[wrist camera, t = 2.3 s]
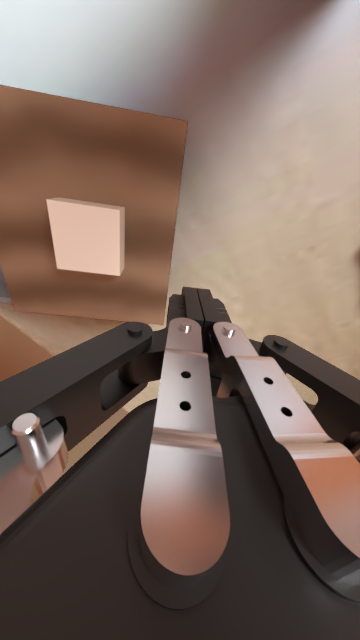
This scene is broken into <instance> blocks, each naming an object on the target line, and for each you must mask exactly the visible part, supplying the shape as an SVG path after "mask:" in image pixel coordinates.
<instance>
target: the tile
mask: <svg viewBox="0 0 360 640" xmlns="http://www.w3.org/2000/svg"><path fill="white" fill-rule="evenodd" d="M46 201H47V207H48V214H49V220H50V226H51V233H52V239H53V245H54V252H55V258H56V264H57V269H64V270H72V271H81V272H90V273H98V274H107V275H115V276H120V275H121V273H122V271H123V269H124V248H125V207H120V206H113V205H107V204H100V203H93V202H86V201H80V200H73V199H66V198H60V197H59V198H52V199H46Z"/></svg>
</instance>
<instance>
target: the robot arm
mask: <svg viewBox="0 0 360 640" xmlns="http://www.w3.org/2000/svg"><path fill="white" fill-rule="evenodd" d="M166 326H167V327H166V328H164V329H162V330H159V331H152V329H151V327H150V326H148V325H147V324H145V323H141V322H127V323H124V324H122V325H120V326H117V327H115V328H113V329H111V330H109V331H107V332H105V333H103V334H101V335H98V336H96V337H94V338H92V339H90V340H88V341H86V342H84V343H82V344H79V345H77V346H75V347H73V348H71V349H69V350H67V351H65V352H63V353H60V354H58V355H56V356H54V357H52V358H50V359H48V360H46V361H44V362H42V363H39V364H37V365H35V366H33V367H31V368H29V369H27V370H25V371H23V372H21V373H19V374H16V375H14V376H12V377H10V378H8V379H6V380H4V381H2V382H0V640H360V380H358V379H356V378H355V377H353V376H351V375H349V374H348V373H346V372H344V371H342V370H340V369H339V368H337V367H335V366H333V365H332V364H330V363H328V362H326V361H325V360H323V359H321V358H319V357H317V356H316V355H314V354H312V353H310V352H309V351H307V350H305V349H303V348H301V347H300V346H298V345H296V344H294V343H293V342H291V341H289V340H287V339H285V338H283V337H280V336H276V335H268V336H266V337H264V339H263V342H262V343H261V342H257V341H254V340H251V339H248V338H247V336H246V334H245V333H244V331H243V330H242V329H241V328H240V327H239V326H237V325H235V324H233V323H232V322H231V320H230V318H229V315H228V313H227V311H226V309H225V306H224V304H223V303H222V302H221V301H220V300H218V299H214V298H213V297H212V294H211V292H210V290H208V289H200V288H197V289H196V288H191V287H183V289H182V295H177V294H173V295H172V296H171V297H170V298H169V306H168V314H167V325H166ZM286 373H288V374H290V375H291V376H293V377H294V378H296V379H297V380H299V381H300V382H302V383H303V384H305V385H306V386H308V387H309V388H311V389H312V390H313V391H314V392H315V393H316V394H317V396H318V403H317V404H316V405H311V404H309V403H307V402H306V401H304V400H303V399H302V398H301V397H300V395H299V394H298V392H297V391H296V390H295V388H294V387H293V385H292V384H291V382H290V381H289V379H288V378H287V377H286ZM160 379H161V380H160ZM155 380H160V386H159V393H158V398H156V399H153V400H150V401H147V402H145V403H143V404H141V405H139V406H138V407H136V408H135V409H133V410H132V411H131V412H129V413H128V414H127V415H126V416H125V417H124V418H123V419H122V420H121V421H120V422H119V423H118V424H117V425H116V426H114V427H113V428H112V429H111V430H110V431H109V432H108V433H107V434H106V435H105V436H104V437H103V438H102V439H101V440H100V441H99V442H98V443H96V445H94V446H93V447H92V448H91V449H90V450H89V451H88V452H87V453H86V454H85V455H84V456H83V457H82V458H81V459H80V460H78V461H77V462H76V463H75V464H74V465H73V466H72V467H71V468H70V469H69V470H68V471H67V472H66V473H65V474H64V475H63V476H62V477H60V476H61V474H62V473H63V471H64V469H65V468H66V465H67V462H68V451H70V450H71V449H72V448H73V447H74V446H76V445H77V444H78V443H79V442H80V441H82V440H83V439H84V438H85V437H86V436H88V435H89V434H90V433H91V432H92V431H94V430H95V429H96V428H97V427H99V426H100V425H101V424H102V423H103V422H105V421H106V420H107V419H108V418H109V417H111V416H112V415H113V414H114V413H115V412H117V411H118V410H119V409H120V408H122V407H123V406H124V405H125V404H126V403H128V402H129V401H130V400H131V399H132V398H134V397H135V396H136V395H137V394H138V393H140V392H141V391H142V390H143V389H144V388H145V387H146V386H147V384H148V382H150V381H155ZM59 477H60V478H59ZM58 478H59V479H58ZM57 479H58V480H57ZM56 480H57V481H56ZM55 481H56V482H55ZM54 482H55V483H54Z"/></svg>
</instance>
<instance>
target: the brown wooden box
mask: <svg viewBox="0 0 360 640" xmlns="http://www.w3.org/2000/svg"><path fill="white" fill-rule="evenodd" d="M187 124H188V121H185V120H180V119H175V118H169V117H164V116H159V115H154V114H149V113H144V112H138V111H133V110H128V109H123V108H118V107H113V106H107V105H102V104H97V103H92V102H87V101H81V100H76V99H71V98H66V97H61V96H56V95H50V94H45V93H40V92H35V91H30V90H25V89H19V88H14V87H9V86H4V85H0V264H1V267H2V271H3V274H4V277H5V281H6V284H7V288H8V291H9V294H10V298H11V301H12V305H13V308H14V311H23V312H34V313H44V314H54V315H65V316H75V317H85V318H96V319H106V320H116V321H127V322H141V323H147V324H157V325H164V317H165V308H166V300H167V292H168V283H169V275H170V266H171V258H172V250H173V241H174V233H175V225H176V216H177V208H178V199H179V191H180V183H181V174H182V166H183V158H184V149H185V141H186V132H187ZM59 197H60V198H66V199H73V200H80V201H86V202H93V203H100V204H107V205H113V206H120V207H125V248H124V269H123V271H122V273H121V275H120V276H115V275H107V274H98V273H90V272H81V271H72V270H64V269H57V264H56V258H55V252H54V245H53V239H52V233H51V226H50V220H49V214H48V207H47V201H46V199H52V198H59Z"/></svg>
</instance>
